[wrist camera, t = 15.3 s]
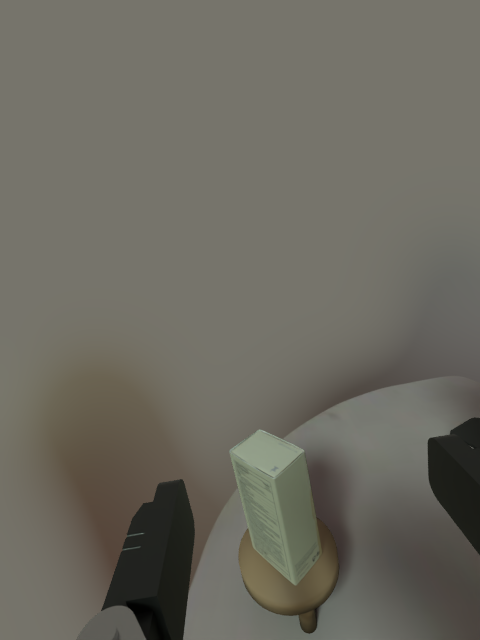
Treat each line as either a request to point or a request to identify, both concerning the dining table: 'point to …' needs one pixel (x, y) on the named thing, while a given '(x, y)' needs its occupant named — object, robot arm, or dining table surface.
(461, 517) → the robot arm
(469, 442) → the phone
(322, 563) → the stool
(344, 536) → the dining table surface
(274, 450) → the skincare box
